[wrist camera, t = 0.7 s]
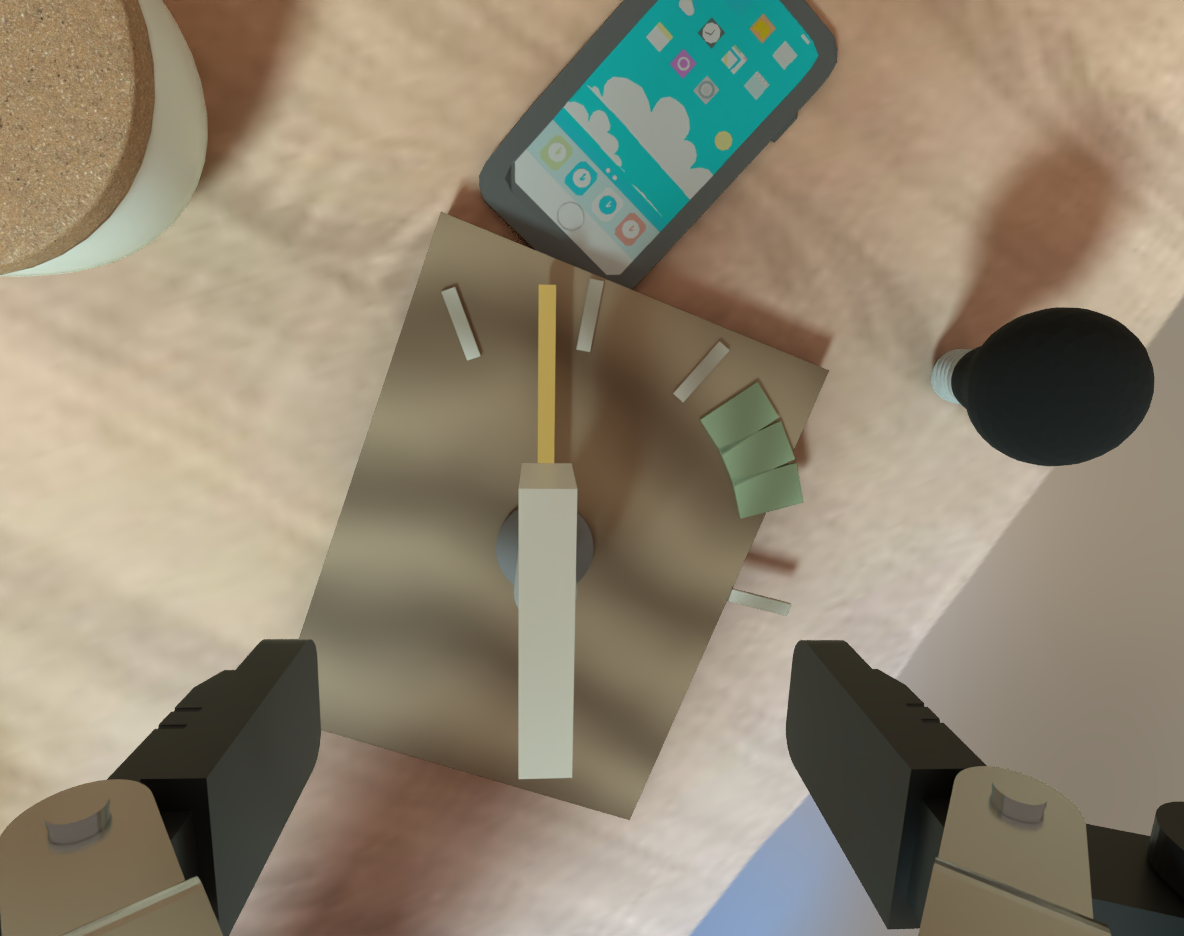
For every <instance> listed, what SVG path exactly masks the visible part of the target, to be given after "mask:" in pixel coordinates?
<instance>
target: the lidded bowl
mask: <svg viewBox="0 0 1184 936" xmlns="http://www.w3.org/2000/svg"><path fill="white" fill-rule="evenodd" d="M207 142H208V127H207V111H206V105H205V100H204V94H203V89H202V84H201V80H200V77H199V74H198V71H197V68H196V65H195V62H194V59H193V56H192V53H191V51H190V49H189V47H188V45H187V43H186V41H185V39H184V37H183V35H182V33H181V31H180V28H179V27H178V25H177V23H176V22H175V20H174V18H173V17H172V15H171V13H170V11H169V10H168V8H167V7H166V5H165V4H164V3H163V1H162V0H0V276H16V277H26V276H41V275H54V274H65V273H73V272H77V271H82V270H86V269H90V268H94V267H99V266H102V265H106V264H109V263H113V262H115V261H117V260H120V259H122V258H124V257H127V256H129V255H132V254H134V253H135V252H137V251H139V250H140V249H142V248H143V247H145V246H146V245H148V244H149V243H151V242H152V241H154V240H155V239H156V238H158V237H159V236H160V235H161V234H162V233H163V232H164V231H165V230H166V229H168V228H169V227H170V226H171V225H172V224H173V223H174V222H175V221H176V220H177V218H178V217H179V216H180V214H181V213H182V212H183V210H184V209H185V208H186V206H187V205H188V203H189V201H190V199H191V197H192V195H193V193H194V191H195V189H196V187H197V185H198V183H199V180H200V176H201V173H202V170H203V166H204V163H205V157H206V149H207Z"/></svg>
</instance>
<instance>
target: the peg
mask: <svg viewBox="0 0 1184 936" xmlns="http://www.w3.org/2000/svg"><path fill="white" fill-rule="evenodd" d="M555 344H556V285H539V318H538V463H522V467H521V474H520V482H519V547H518V556H517V566H516V576H515V586H514V599H515V602H516V605H517V607H518V609H519V678H518V779H547V778H572V760H573V705H574V649H575V603H576V600H577V593H578V592H577V583H576V537H577V485H576V481H575V476H574V472H573V467H572V463H554V436H555Z"/></svg>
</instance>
